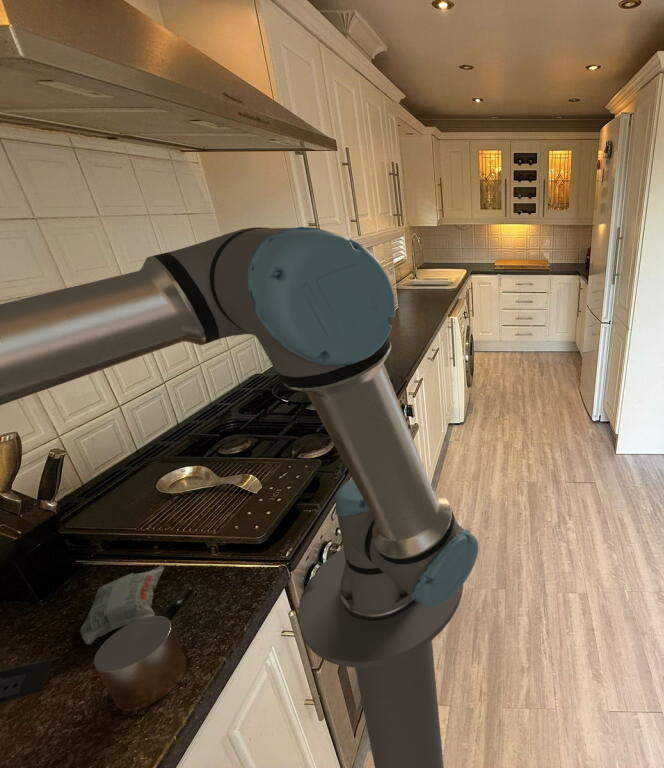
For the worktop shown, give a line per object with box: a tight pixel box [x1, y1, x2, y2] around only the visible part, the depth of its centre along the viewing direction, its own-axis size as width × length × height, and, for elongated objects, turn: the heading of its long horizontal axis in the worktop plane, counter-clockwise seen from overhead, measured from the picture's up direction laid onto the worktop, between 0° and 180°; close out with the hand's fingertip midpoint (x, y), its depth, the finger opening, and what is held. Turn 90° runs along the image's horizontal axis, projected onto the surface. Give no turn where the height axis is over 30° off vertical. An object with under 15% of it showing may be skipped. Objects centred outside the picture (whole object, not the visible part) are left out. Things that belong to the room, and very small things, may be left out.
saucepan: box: [93, 586, 194, 712], centre depth 60 cm, size 8×15×8 cm, turn 3°
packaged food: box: [80, 565, 165, 645], centre depth 68 cm, size 9×12×5 cm
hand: (11, 677), depth 42 cm, fingers open, 5 cm apart
